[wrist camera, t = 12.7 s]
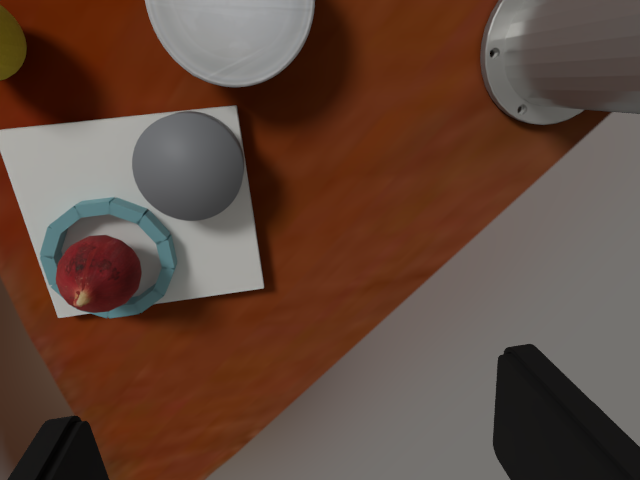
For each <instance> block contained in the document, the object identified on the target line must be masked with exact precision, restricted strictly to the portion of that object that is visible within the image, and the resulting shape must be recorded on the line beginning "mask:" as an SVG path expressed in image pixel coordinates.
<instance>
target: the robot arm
mask: <svg viewBox="0 0 640 480" xmlns="http://www.w3.org/2000/svg"><path fill="white" fill-rule="evenodd" d="M490 51H491V52H492V55H491V57H490ZM480 61H481V71H482V76H483V80H484V83H485V87H486V89H487V91H488V93H489V95H490V97H491V99H492V100H493V101H494V102H495V104H496V105H497V106H498V107H499V109H501V110H502V111H503V112H504V113H506V114H507V115H508V116H510V117H512V118H514V119H516V120H518V121H521V122H526V123H530V124H540V125H546V124H555V123H559V122H562V121H565V120H568V119H570V118H572V117H574V116H576V115H578V114H580V113H581V112H583V111H584V110H597V111H609V112H622V113H636V114H640V0H499V1H498V2H497V4H496V6H495V7H494V9H493V11H492V12H491V15H490V17H489V20H488V22H487V24H486V27H485V30H484V35H483V39H482V43H481V56H480ZM518 107H519V110H518ZM517 110H518V111H517ZM493 446H494V450H495V454H496V456H497V458H498V460H499V462H500V463H501V465H502V467H503V468H504V470H505V471H506V473H507V475H508V476H509V478H510V479H511V480H640V447H639V446H638V445H637V444H636V443H635V442H634V441H633V440H632V439H631V438H630V437H629V436H628V435H627V434H626V433H624V432H623V431H622V430H621V429H620V428H619V427H618V426H617V425H616V424H615V423H614V422H613V421H612V420H611V419H610V418H609V417H608V416H607V415H606V414H605V413H604V412H603V411H602V410H601V409H600V408H599V407H598V406H597V405H596V404H595V403H593V402H592V401H591V400H590V399H589V398H588V397H587V396H586V395H585V394H584V393H583V392H582V391H581V390H580V389H579V388H578V387H577V386H576V385H575V384H573V382H571V381H570V380H569V379H568V378H567V377H566V376H565V375H564V374H563V373H562V372H561V371H560V370H559V369H558V368H557V367H556V366H555V365H554V364H553V363H552V362H551V361H550V360H549V359H548V358H547V357H546V356H545V355H544V354H543V353H542V352H541V351H540V350H538V349H537V348H536V347H535V346H534V345H532V344H526V345H520V346H513V347H508V348H506V349H505V351H504V354H503V355H500V356H499V357H498V366H497V383H496V399H495V415H494V433H493ZM8 480H109V478H108V475H107V472H106V469H105V467H104V464H103V461H102V458H101V455H100V453H99V450H98V447H97V444H96V441H95V438H94V436H93V433H92V430H91V427H90V425H89V423H88V422H87V421H81V419H80V418H79V417H78V416H70V417H64V418H57V419H51V420H48V421H46V422H45V423H44V424H43V425H42V427H41V428H40V430H39V431H38V433H37V434H36V436H35V438H34V439H33V441H32V442H31V444H30V445H29V447H28V448H27V450H26V452H25V453H24V455H23V457H22V458H21V459H20V461H19V463H18V464H17V466H16V467H15V469H14V471H13V472H12V473H11V475H10V477H9V478H8Z"/></svg>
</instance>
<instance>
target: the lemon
mask: <svg viewBox="0 0 640 480" xmlns="http://www.w3.org/2000/svg"><path fill="white" fill-rule="evenodd" d="M26 50H27V46H26V40H25V36H24V34H23V31H22V29H21V27H20V25H19V24H18V22H17V21H16V19H15V18H14V17H13V16H12V15H11V14H10V13H9V12H8V11H7V10H6V9H5V8H4V7H3V6H1V5H0V80H4V79H7V78H8V77H10V76H12V75H13V74H15V73H16V72H17V71H18V70H19V69H20V67H21V66H22V65H23V62H24V60H25V57H26Z"/></svg>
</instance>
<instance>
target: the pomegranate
mask: <svg viewBox="0 0 640 480" xmlns="http://www.w3.org/2000/svg"><path fill="white" fill-rule="evenodd" d="M141 275H142V270H141V264H140V260H139V258H138V257H137V255H136V253H135V252H134V250H133V249H132V248H131V247H129V246H128V245H127V244H126V243H124V242H123V241H122V240H119V239H116V238H113V237H111V236H108V235H96V236H88V237H86V238H84V239H82V240H80V241H78V242H76V243H74V244H73V245H71V246H70V247H69V248H68V249H67V250H66V252H65V253H64V255H63V256H62V258H61V259H60V261H59V262H58V266H57V272H56V284H57V286H58V289H59V292H60V294H61V296H62V297H63V298H64V299H65V301H66V302H67V303H68V304H69V305H71V306H73V307H75V308H77V309H78V310H81V311H86V312H91V313H99V312H108V311H111V310H113V309H115V308H117V307H119V306H121V305H123V304H126V303H127V301H128V300H129V299H130V298H131V297H132V296H133V295H134V294H135V292H136V291H137V290H138V288H139V284H140V280H141Z"/></svg>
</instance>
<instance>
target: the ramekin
mask: <svg viewBox="0 0 640 480" xmlns="http://www.w3.org/2000/svg"><path fill="white" fill-rule="evenodd" d="M145 3H146V8H147V11H148V15H149V18H150V21H151V24H152V26H153V28H154V31H155V33H156V35H157V36H158V38H159V40H160V42H161V43H162V45H163V46H164V48H165V49H166V50H167V52H168V53H169V54H170V55H171V57H172V58H173V59H174V60H175V61H176V62H177V63H178V64H179V65H180V66H182V67H183V68H184V69H185V70H187V71H188V72H189V73H191V74H192V75H193V76H195V77H197V78H200V79H202V80H204V81H206V82H209V83H212V84H215V85H219V86H225V87H246V86H252V85H256V84H259V83H262V82H264V81H267V80H269V79H271V78H272V77H274V76H276V75H277V74H279V73H280V72H281V71H283V70H284V69H285V68H286V67H287V66H288V65H289V64H290V63H291V62H292V61H293V60H294V59H295V57H296V56H297V55H298V53H299V52H300V50H301V49H302V47H303V45H304V43H305V41H306V39H307V37H308V34H309V32H310V28H311V25H312V21H313V16H314V8H315V0H145Z"/></svg>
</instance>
